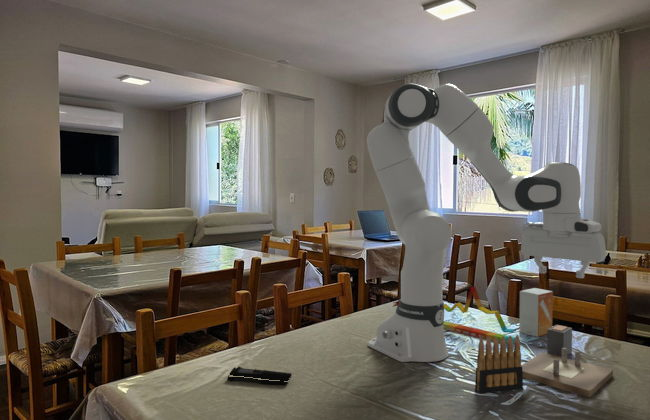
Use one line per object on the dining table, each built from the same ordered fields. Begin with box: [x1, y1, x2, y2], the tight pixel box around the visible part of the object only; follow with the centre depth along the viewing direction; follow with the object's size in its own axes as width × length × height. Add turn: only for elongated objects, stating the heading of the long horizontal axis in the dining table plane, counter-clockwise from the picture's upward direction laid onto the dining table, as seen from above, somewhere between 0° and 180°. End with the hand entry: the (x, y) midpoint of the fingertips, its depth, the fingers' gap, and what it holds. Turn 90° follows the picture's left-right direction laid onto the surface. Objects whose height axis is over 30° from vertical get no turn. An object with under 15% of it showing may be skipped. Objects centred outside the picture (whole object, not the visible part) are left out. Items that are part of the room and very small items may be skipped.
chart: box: [443, 286, 516, 345], centre depth 137 cm, size 30×3×15 cm, turn 44°
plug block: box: [546, 324, 573, 357], centre depth 119 cm, size 4×6×7 cm, turn 132°
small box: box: [518, 287, 554, 338], centre depth 137 cm, size 8×6×13 cm
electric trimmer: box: [226, 366, 293, 385], centre depth 104 cm, size 4×16×3 cm, turn 76°
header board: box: [521, 348, 614, 399], centre depth 105 cm, size 16×16×5 cm
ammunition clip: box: [474, 334, 524, 395], centre depth 98 cm, size 11×2×12 cm, turn 101°
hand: (560, 275), depth 118 cm, fingers open, 8 cm apart
